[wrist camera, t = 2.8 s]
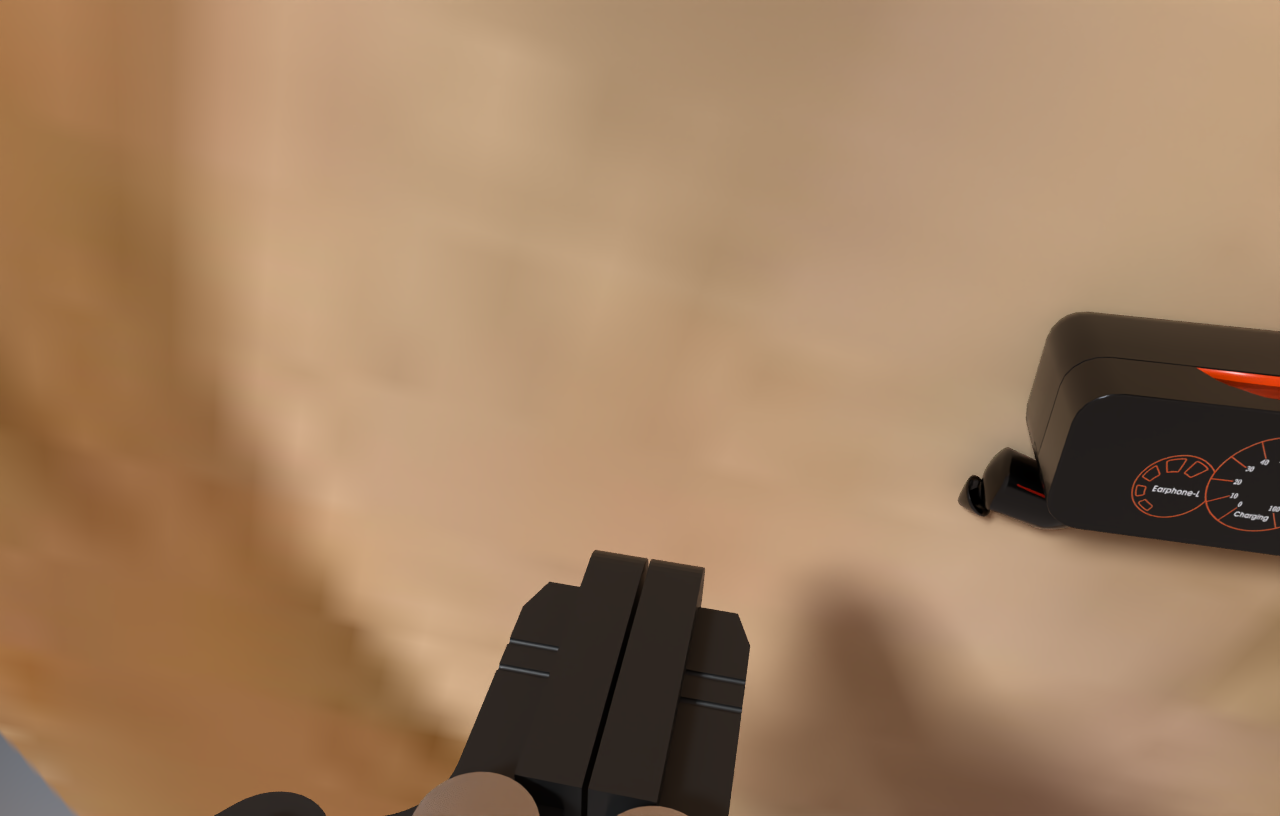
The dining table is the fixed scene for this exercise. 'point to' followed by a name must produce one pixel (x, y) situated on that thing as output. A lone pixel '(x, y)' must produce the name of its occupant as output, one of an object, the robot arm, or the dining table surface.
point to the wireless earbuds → (1148, 435)
